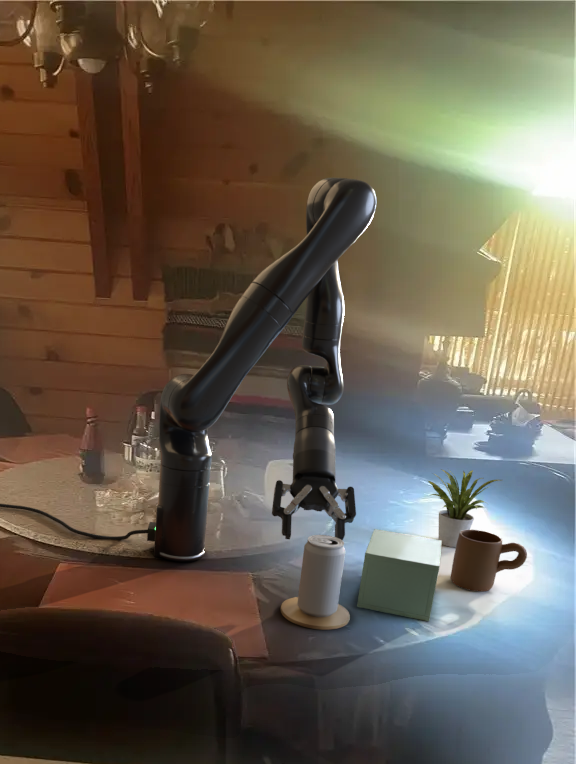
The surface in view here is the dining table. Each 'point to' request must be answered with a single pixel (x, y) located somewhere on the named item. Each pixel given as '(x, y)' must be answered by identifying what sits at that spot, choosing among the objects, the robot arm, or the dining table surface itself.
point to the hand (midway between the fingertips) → (313, 539)
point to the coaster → (305, 620)
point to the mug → (482, 559)
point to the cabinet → (400, 574)
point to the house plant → (457, 507)
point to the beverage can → (321, 575)
